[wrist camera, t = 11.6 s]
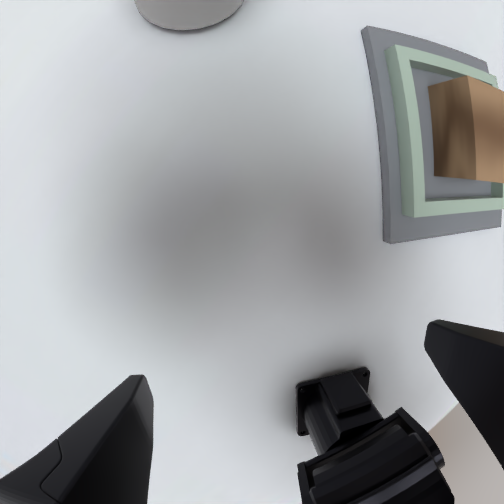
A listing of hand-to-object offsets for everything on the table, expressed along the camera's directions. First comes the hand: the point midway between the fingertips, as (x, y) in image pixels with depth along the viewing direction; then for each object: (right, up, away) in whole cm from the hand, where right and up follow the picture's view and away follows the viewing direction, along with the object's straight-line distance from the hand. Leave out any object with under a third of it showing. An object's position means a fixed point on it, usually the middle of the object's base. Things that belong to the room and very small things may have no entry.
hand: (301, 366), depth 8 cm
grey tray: (+14, +13, +11) cm, 22 cm away
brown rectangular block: (+14, +12, +10) cm, 22 cm away
